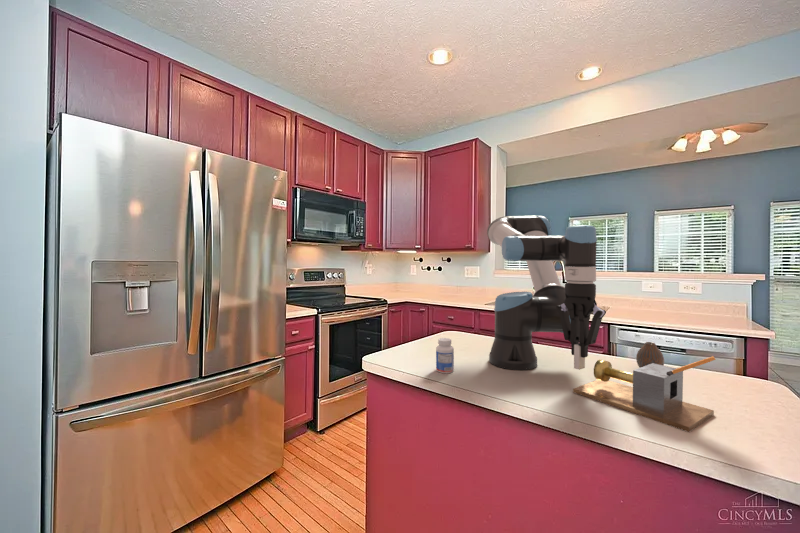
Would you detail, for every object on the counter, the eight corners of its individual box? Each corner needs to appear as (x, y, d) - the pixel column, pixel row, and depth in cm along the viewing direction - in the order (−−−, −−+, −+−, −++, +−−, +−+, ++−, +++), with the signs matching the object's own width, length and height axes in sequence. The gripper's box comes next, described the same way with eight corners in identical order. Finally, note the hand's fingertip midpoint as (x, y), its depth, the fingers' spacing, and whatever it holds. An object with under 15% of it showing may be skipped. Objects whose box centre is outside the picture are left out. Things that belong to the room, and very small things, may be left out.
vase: (639, 373, 103) (640, 344, 103) (633, 366, 110) (634, 339, 109) (667, 376, 101) (668, 346, 100) (659, 369, 107) (660, 341, 107)
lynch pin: (593, 381, 88) (593, 361, 88) (604, 377, 91) (604, 358, 91) (647, 397, 78) (647, 374, 78) (657, 392, 81) (657, 370, 81)
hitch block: (573, 392, 88) (573, 354, 88) (601, 381, 96) (602, 346, 96) (688, 432, 68) (689, 382, 68) (713, 414, 76) (714, 370, 75)
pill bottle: (439, 367, 109) (440, 336, 109) (456, 369, 107) (456, 338, 107) (433, 372, 104) (433, 340, 104) (450, 374, 102) (450, 342, 102)
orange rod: (673, 374, 74) (671, 370, 75) (681, 370, 77) (679, 367, 77) (711, 361, 69) (709, 358, 69) (719, 357, 71) (716, 354, 72)
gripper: (550, 281, 97) (549, 364, 98) (596, 284, 86) (596, 377, 87) (565, 280, 101) (565, 360, 102) (612, 283, 90) (611, 372, 91)
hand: (579, 368), depth 94 cm, fingers closed
